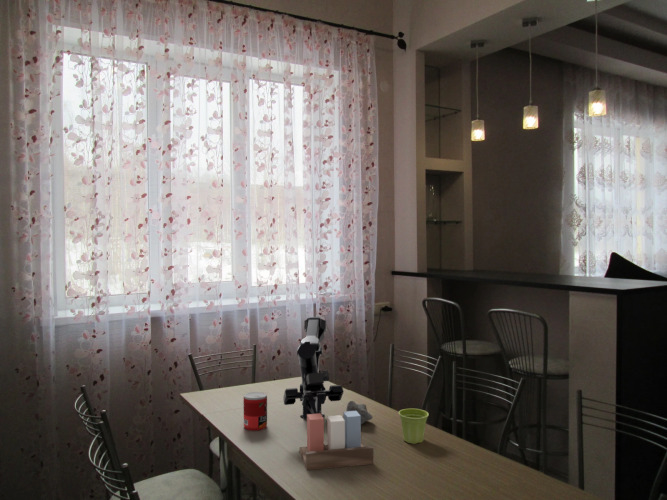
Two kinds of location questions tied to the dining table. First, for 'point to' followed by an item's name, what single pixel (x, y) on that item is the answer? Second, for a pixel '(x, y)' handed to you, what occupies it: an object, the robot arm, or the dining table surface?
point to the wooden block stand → (336, 457)
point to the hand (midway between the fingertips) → (317, 419)
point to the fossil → (359, 410)
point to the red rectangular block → (315, 432)
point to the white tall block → (335, 432)
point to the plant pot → (413, 424)
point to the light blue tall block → (352, 429)
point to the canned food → (255, 411)
